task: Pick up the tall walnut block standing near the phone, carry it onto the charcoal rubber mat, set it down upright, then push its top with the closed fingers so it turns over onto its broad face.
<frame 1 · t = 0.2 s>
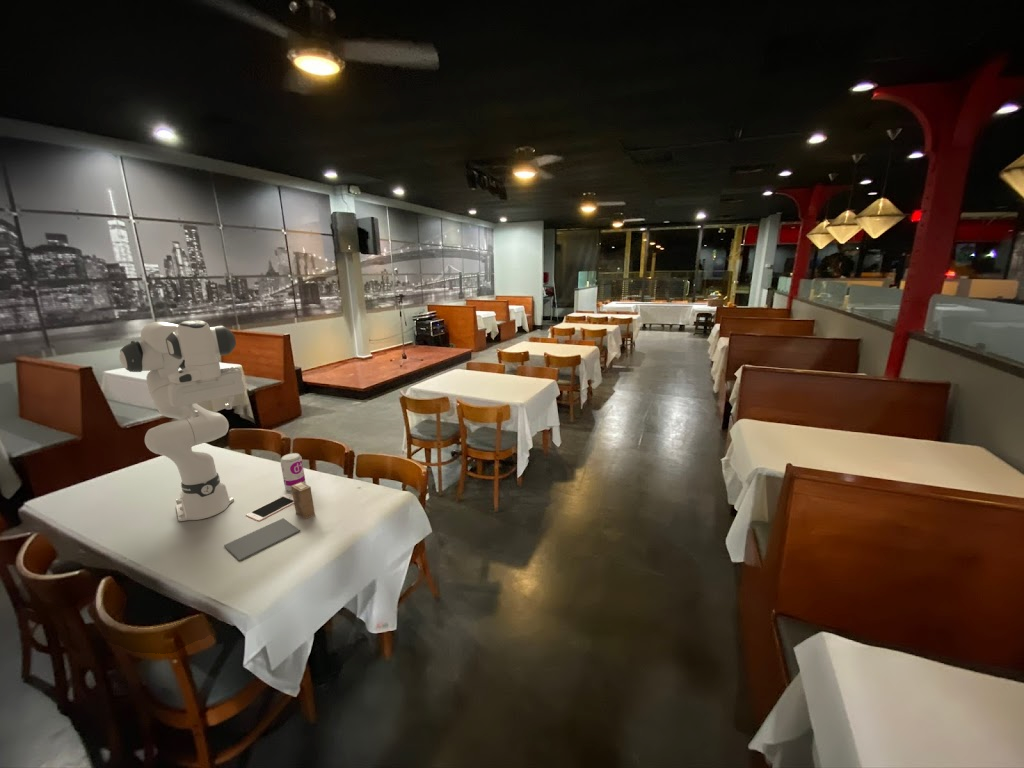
hand: (212, 412, 136), 47 cm above the table, fingers open, 8 cm apart
supplement can: (295, 487, 182), on the table
walnut block: (305, 513, 162), on the table
rubber mat: (263, 538, 147), on the table
cell phone: (274, 508, 167), on the table
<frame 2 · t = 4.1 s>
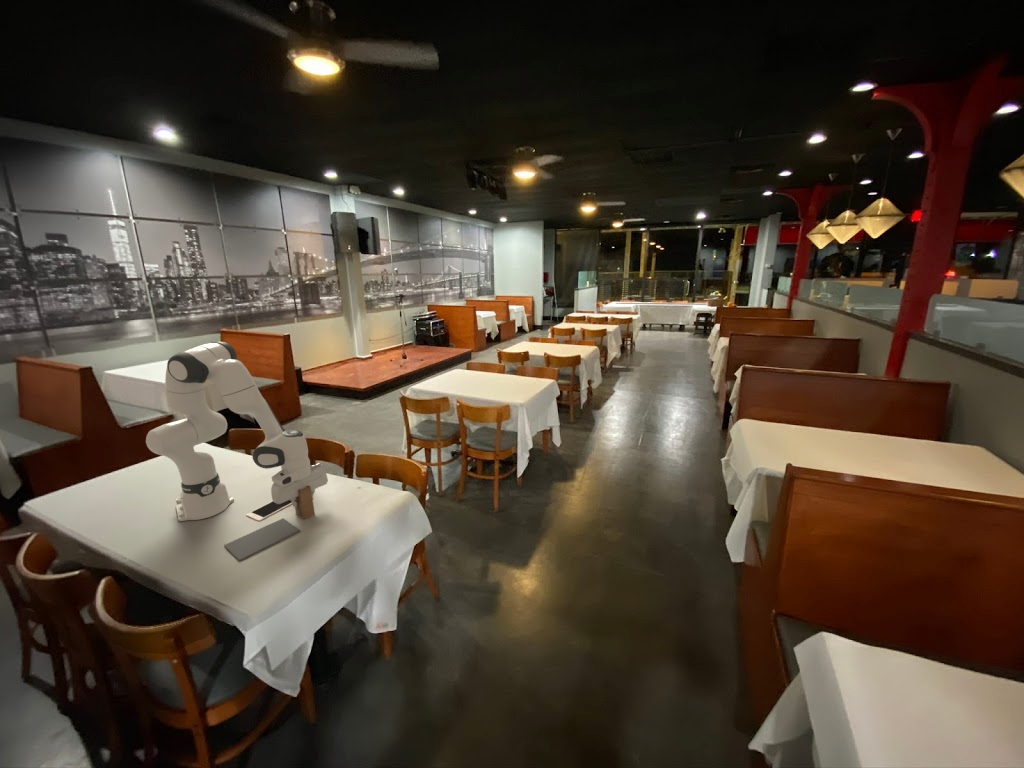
hand: (303, 503, 161), 5 cm above the table, fingers closed on walnut block, 4 cm apart
walnut block: (305, 513, 162), on the table, touching gripper
everything else where it was.
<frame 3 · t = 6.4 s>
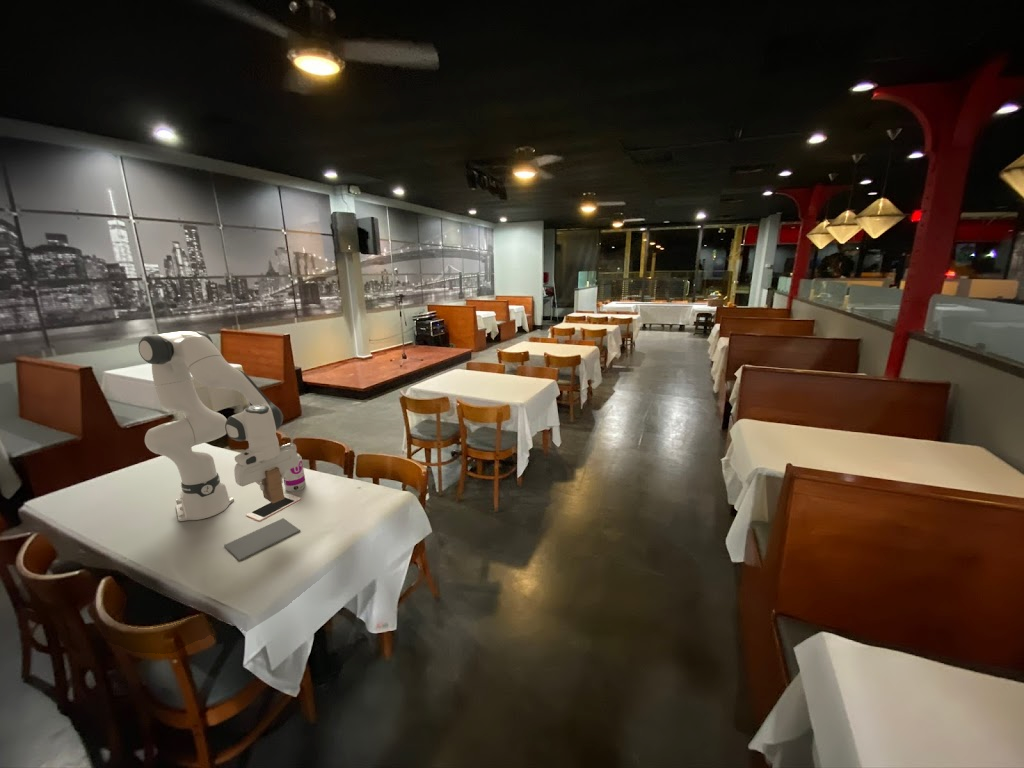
hand: (271, 486, 147), 18 cm above the table, fingers closed on walnut block, 4 cm apart
walnut block: (274, 498, 148), point 13 cm above the table, touching gripper
everything else where it was.
when the fingers open (6 cm above the table, at t = 8.7 s): walnut block stays where it is, resting on rubber mat.
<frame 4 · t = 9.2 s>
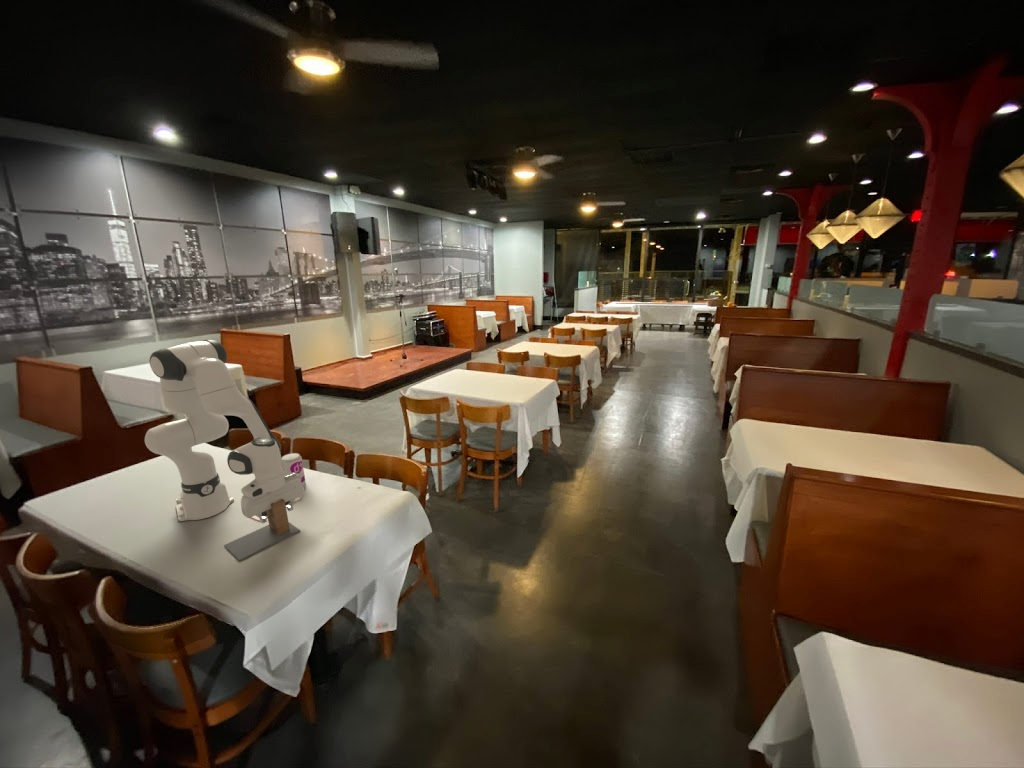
hand: (277, 516, 150), 6 cm above the table, fingers open, 8 cm apart
walnut block: (279, 528, 152), point 1 cm above the table, touching rubber mat
everything else where it was.
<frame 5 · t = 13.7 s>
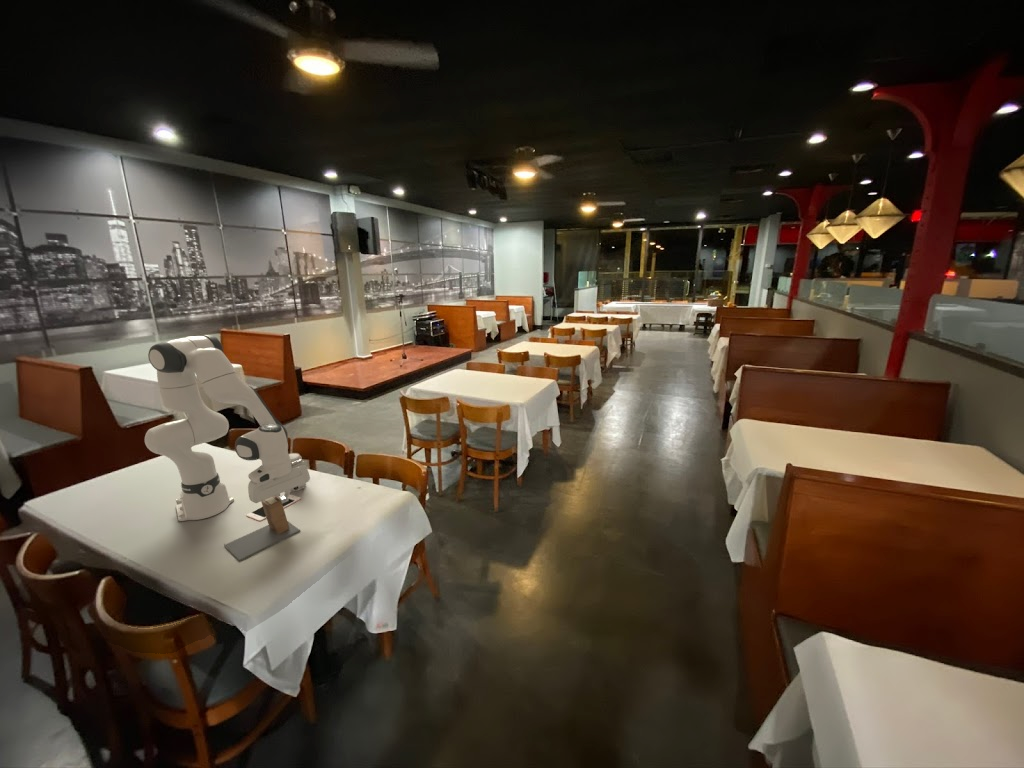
hand: (283, 502, 152), 10 cm above the table, fingers closed
walnut block: (279, 528, 152), point 1 cm above the table, tilted 5°, touching gripper, rubber mat
everything else where it was.
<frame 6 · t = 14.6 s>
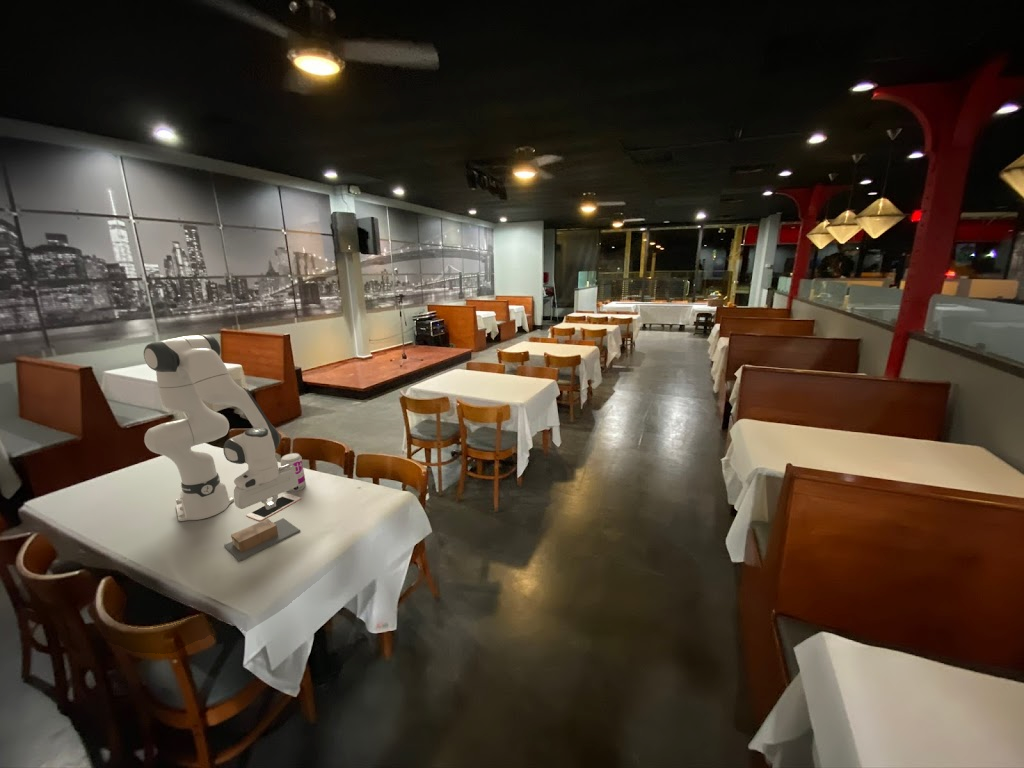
hand: (271, 507, 148), 10 cm above the table, fingers closed
walnut block: (272, 526, 150), point 3 cm above the table, tilted 90°, touching rubber mat
everything else where it was.
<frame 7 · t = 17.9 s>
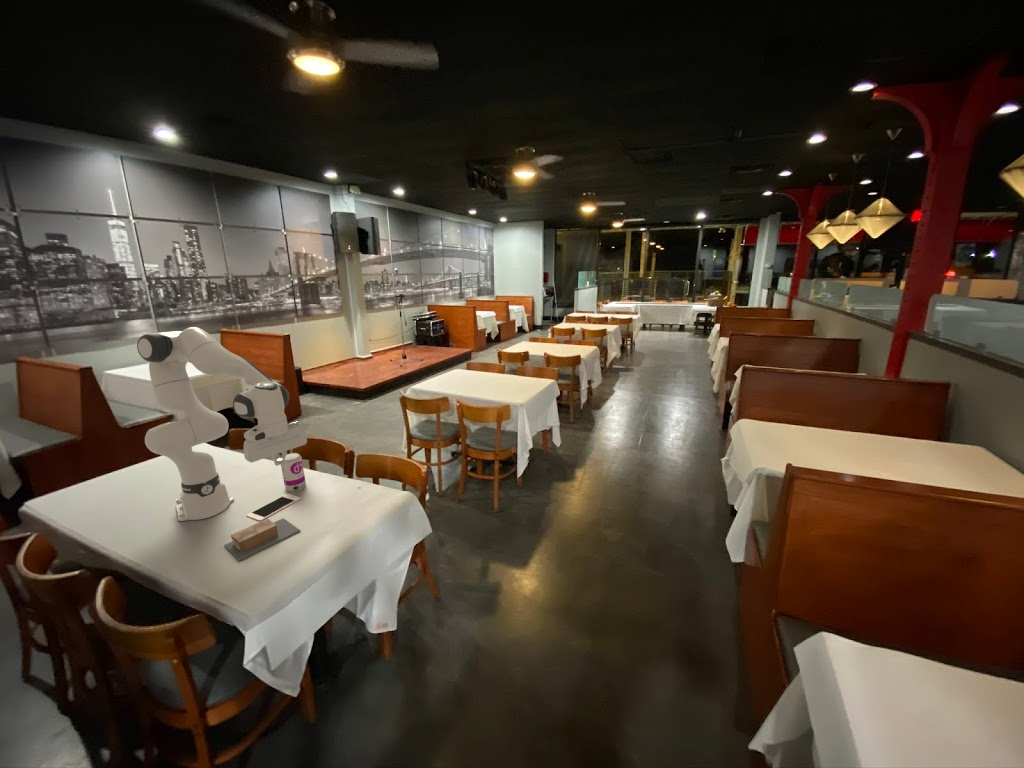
hand: (280, 464, 148), 25 cm above the table, fingers closed
nothing on the table moved.
at the end: walnut block tilted 90°; walnut block inside the target area (5.0 cm from its centre), point 2.6 cm above the table; the gripper is holding nothing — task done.
